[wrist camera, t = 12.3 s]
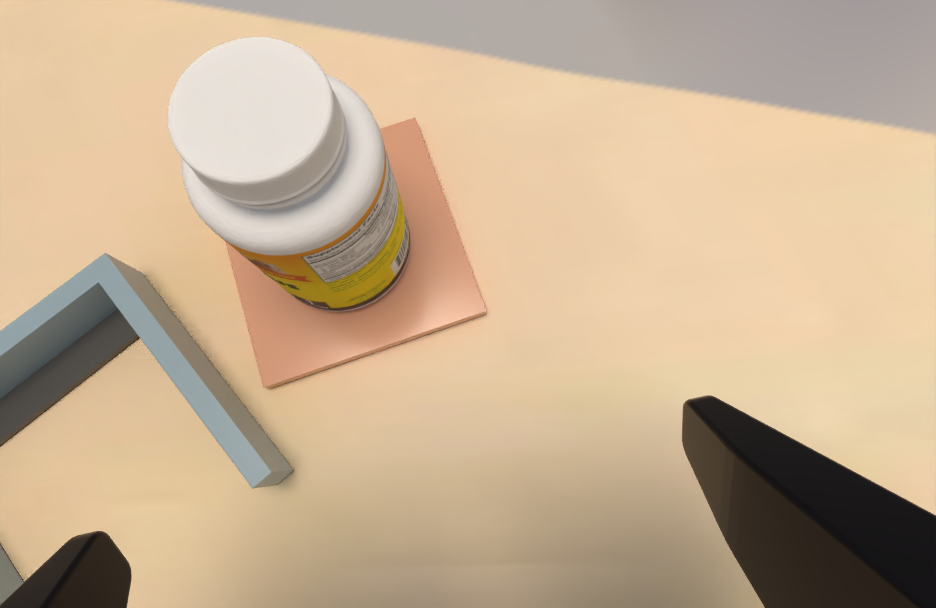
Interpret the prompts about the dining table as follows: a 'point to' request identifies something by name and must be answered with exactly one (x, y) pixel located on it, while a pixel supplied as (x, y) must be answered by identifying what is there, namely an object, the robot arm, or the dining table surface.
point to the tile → (394, 314)
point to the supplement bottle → (290, 172)
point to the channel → (98, 341)
